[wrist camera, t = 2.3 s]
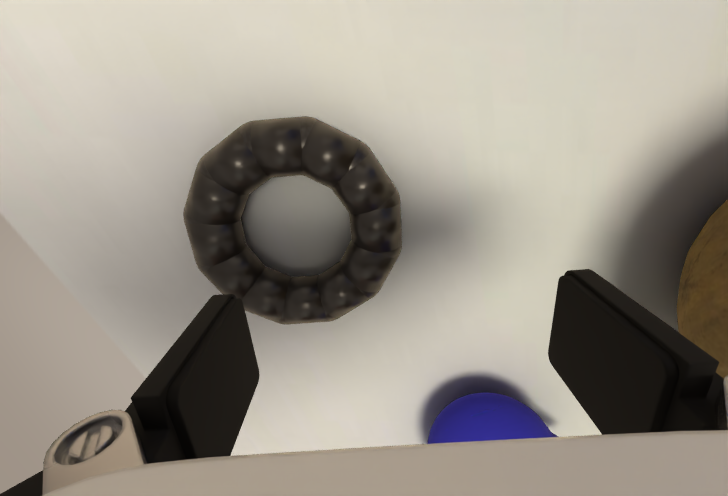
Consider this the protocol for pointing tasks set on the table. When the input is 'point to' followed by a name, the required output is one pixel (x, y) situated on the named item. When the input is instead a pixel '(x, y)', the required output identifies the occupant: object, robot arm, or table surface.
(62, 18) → the table surface
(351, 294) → the ring
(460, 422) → the decorative object
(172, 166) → the table surface
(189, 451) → the robot arm
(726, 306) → the clay pot
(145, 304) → the table surface
